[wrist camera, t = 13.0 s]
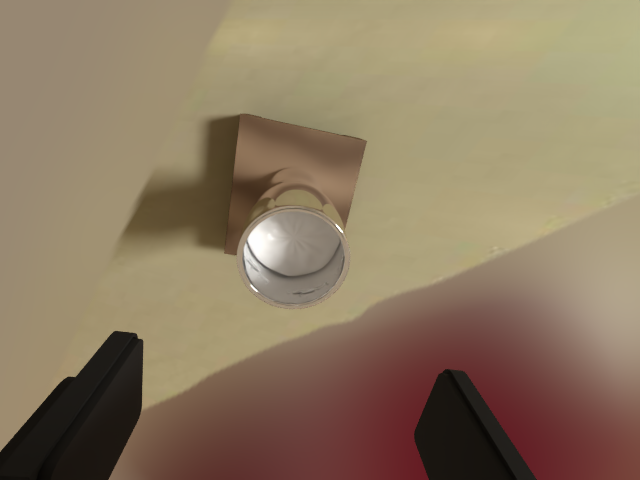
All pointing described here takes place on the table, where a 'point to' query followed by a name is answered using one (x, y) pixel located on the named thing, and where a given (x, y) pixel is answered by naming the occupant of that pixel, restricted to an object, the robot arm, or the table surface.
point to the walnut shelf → (289, 165)
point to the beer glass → (293, 243)
